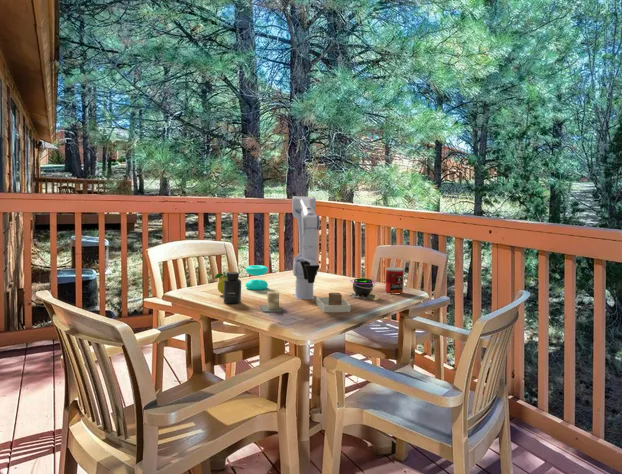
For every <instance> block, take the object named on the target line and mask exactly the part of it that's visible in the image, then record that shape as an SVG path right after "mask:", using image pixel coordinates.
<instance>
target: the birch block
mask: <svg viewBox="0 0 622 474" xmlns="http://www.w3.org/2000/svg"><path fill="white" fill-rule="evenodd" d="M266 298H267V299H266V301H267V302H266V303H267V304H266V305H267V307H268V309H279V306H280V293H279V291H278V290H276V291H275V290H272V291H271V290H270V291H269V290H267V297H266Z"/></svg>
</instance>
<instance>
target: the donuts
mask: <svg viewBox="0 0 622 474" xmlns="http://www.w3.org/2000/svg"><path fill="white" fill-rule="evenodd" d="M245 272H246V274H248V275H251V276H263V275H265V274H267V273H268V272H269V268H268V267H267V266H265V265H260V264H257V265H256V264H255V265H248V266H247V267H245ZM245 287H246V288H247V289H248V290H250V291H251V290H252V291H261V290H265V289H267V288H268V283H267V281H265V280H263V279H250V280H248V281H247V282H246V283H245Z"/></svg>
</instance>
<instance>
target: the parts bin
mask: <svg viewBox="0 0 622 474" xmlns="http://www.w3.org/2000/svg"><path fill="white" fill-rule="evenodd" d="M315 298H316V299H315V304H316V305H317V306H318V308H319V309H320V310H321V312H323V313H350V312H351V308H352V306H351V304H350V303H349V302H348V301H347V300H345V298H343V297H342V303H341V305H329V296H320V297H318V296H317V297H315Z"/></svg>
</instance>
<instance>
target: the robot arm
mask: <svg viewBox="0 0 622 474" xmlns="http://www.w3.org/2000/svg"><path fill="white" fill-rule="evenodd" d="M291 199H292V200H291V207H292V211H291V212H292V217H293V218H295V219H296V221H297V224H298V245H299V246H298V248H299V250H298V251H299V253H298V254H297V255H296V256H294V257H293V261H292V264H293V265H292V274H293V276H294V277H295V279H296V280H295V291H294V292H295V293H294V294H293V296H294V298H295V300H316V297H315V296H314V283H315V279H316V277H317V275H318V270H319V268H320V265H319V264H318V262H317V261H318V232H319V229H320V215H319V214H317V213H316V212H315V211H316V207H317V200H316V197H315V196H303V195H302V196H301V195H300V196H296V195H294V196H292V198H291Z"/></svg>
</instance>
